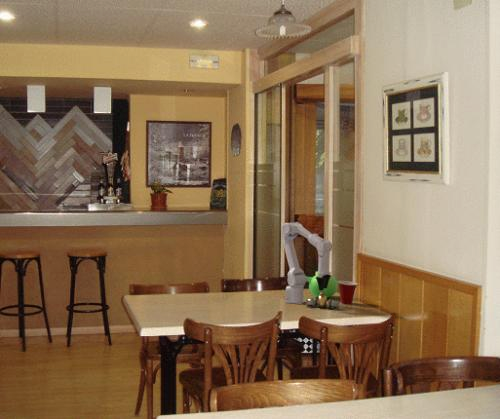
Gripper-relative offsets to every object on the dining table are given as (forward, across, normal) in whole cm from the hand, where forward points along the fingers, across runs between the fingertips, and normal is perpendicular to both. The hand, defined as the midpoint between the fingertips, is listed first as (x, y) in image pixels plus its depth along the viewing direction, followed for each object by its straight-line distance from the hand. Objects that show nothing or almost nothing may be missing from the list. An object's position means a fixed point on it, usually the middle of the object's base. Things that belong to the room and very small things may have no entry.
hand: (323, 289), depth 384 cm
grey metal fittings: (+10, -1, 0) cm, 10 cm away
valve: (+10, -1, 0) cm, 10 cm away
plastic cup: (+10, +18, -9) cm, 23 cm away
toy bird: (+10, +30, +8) cm, 33 cm away
